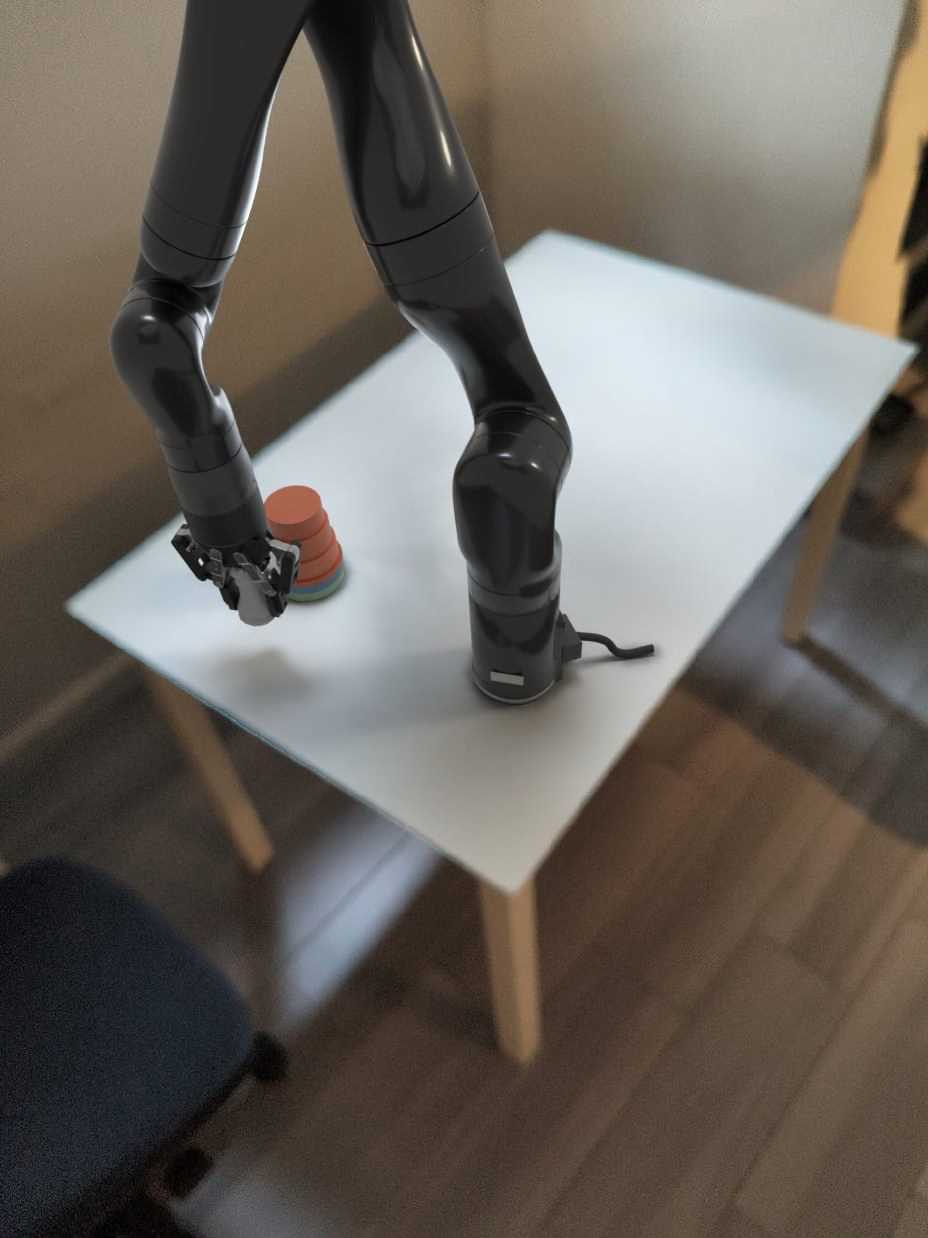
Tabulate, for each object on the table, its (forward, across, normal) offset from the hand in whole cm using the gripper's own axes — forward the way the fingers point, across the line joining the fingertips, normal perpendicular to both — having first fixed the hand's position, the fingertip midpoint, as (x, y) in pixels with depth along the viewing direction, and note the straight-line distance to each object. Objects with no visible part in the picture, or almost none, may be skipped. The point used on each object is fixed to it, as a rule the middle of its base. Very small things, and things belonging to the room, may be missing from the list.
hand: (257, 607), depth 99 cm
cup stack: (+8, 0, -12) cm, 15 cm away
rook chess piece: (+1, 0, 0) cm, 1 cm away
